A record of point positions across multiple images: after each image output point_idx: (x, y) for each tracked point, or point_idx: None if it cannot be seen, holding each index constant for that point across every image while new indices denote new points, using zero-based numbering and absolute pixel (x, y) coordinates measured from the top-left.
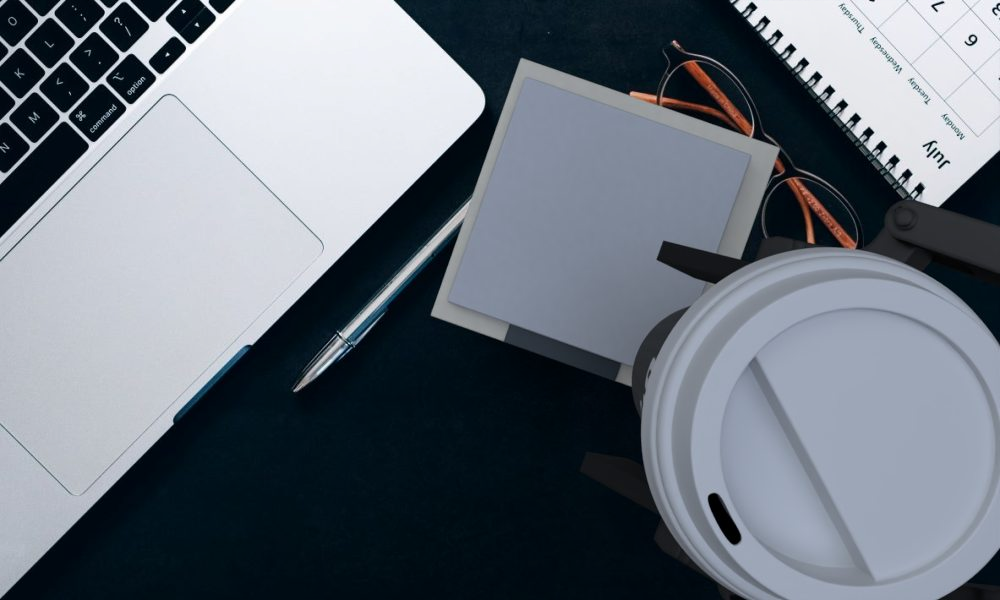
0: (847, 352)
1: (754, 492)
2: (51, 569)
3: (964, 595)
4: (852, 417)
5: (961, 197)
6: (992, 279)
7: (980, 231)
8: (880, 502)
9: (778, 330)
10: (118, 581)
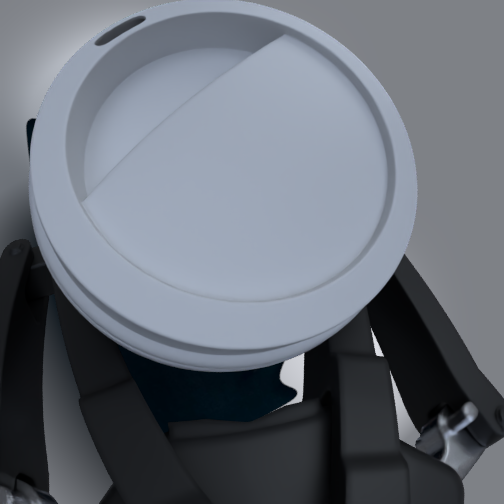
0: (330, 96)
1: (145, 92)
2: (32, 120)
3: (118, 372)
4: (275, 109)
5: (293, 388)
6: (376, 299)
7: (405, 262)
8: (188, 166)
9: (315, 39)
10: (30, 140)
